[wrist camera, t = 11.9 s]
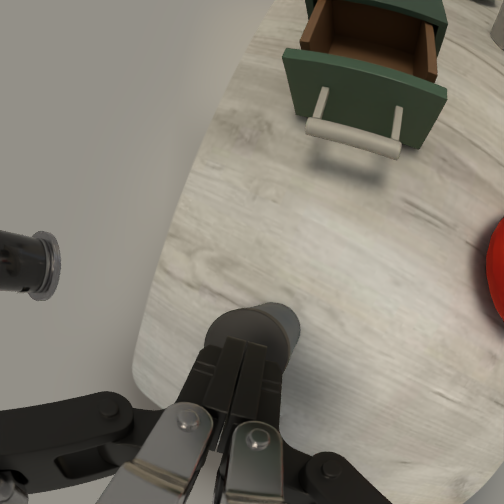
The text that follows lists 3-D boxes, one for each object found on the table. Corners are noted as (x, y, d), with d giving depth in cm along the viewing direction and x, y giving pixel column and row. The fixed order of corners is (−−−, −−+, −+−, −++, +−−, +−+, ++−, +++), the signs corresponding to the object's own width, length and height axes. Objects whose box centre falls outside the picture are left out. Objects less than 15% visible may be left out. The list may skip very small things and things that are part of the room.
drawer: (412, 194, 21) (446, 153, 13) (281, 155, 25) (261, 102, 17) (423, 61, 22) (437, 11, 14) (323, 35, 25) (317, -16, 17)
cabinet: (426, 85, 22) (448, 23, 13) (313, 56, 26) (302, -10, 16) (423, 23, 23) (433, -27, 13) (333, 1, 27) (327, -50, 17)
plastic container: (237, 344, 24) (193, 371, 16) (256, 293, 25) (218, 296, 16) (289, 365, 23) (269, 405, 14) (309, 312, 23) (301, 327, 15)
